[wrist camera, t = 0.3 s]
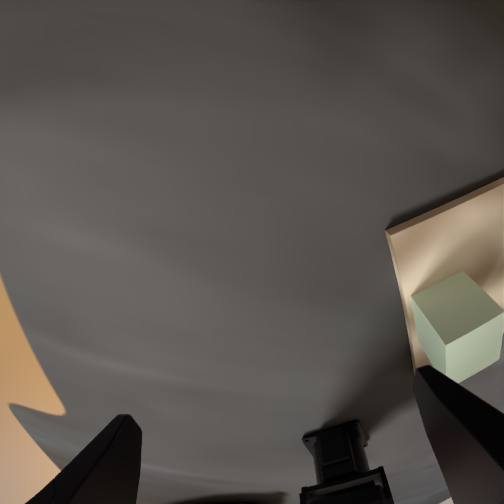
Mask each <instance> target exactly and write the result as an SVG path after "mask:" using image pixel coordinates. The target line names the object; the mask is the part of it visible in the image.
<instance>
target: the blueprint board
mask: <svg viewBox="0 0 504 504" xmlns="http://www.w3.org/2000/svg"><path fill="white" fill-rule="evenodd" d="M385 233H386V236H387V240H388V244H389V248H390V252H391V256H392V260H393V264H394V268H395V272H396V276H397V281H398V285H399V290H400V295H401V299H402V304H403V309H404V315H405V320H406V325H407V331H408V337H409V343H410V349H411V356H412V363H413V370H414V374H415V370H416V368H418V367H420V366H423V365H427V364H428V365H431V366H432V364H431V362H430V360H429V359H428V357H427V355H426V354H425V352H424V350H423V349H422V347H421V345H420V344H419V342H418V340H417V333H416V326H415V320H414V314H413V308H412V302H411V297H410V296H411V295H414V294H416V293H418V292H420V291H422V290H424V289H426V288H428V287H430V286H432V285H434V284H436V283H438V282H441V281H443V280H445V279H446V278H448V277H450V276H452V275H454V274H456V273H458V272H460V271H462V270H463V271H464V272H465V273H466V274H467V275H468V276H469V277H470V278H471V279H473V280H474V281H475V282H476V283H477V284H478V285H479V286H480V287H481V288H482V289H483V290H484V291H485V292H486V293H487V294H488V295H489V296H490V297H491V298H492V299H493V300H494V301H495V302H496V303H497V304H498V305H499V306H500V307H501V308H502V309H503V310H504V177H503V178H501V179H498V180H496V181H494V182H492V183H490V184H488V185H486V186H484V187H481V188H479V189H477V190H475V191H473V192H471V193H468V194H466V195H464V196H462V197H460V198H457V199H455V200H453V201H451V202H449V203H446V204H444V205H442V206H440V207H438V208H435V209H433V210H431V211H429V212H426V213H424V214H422V215H419V216H417V217H415V218H413V219H410V220H408V221H406V222H404V223H401V224H399V225H397V226H394V227H392V228H390V229H387V230H385ZM503 333H504V326H503ZM432 367H433V366H432Z"/></svg>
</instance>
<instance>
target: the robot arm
mask: <svg viewBox="0 0 504 504" xmlns="http://www.w3.org/2000/svg"><path fill="white" fill-rule="evenodd" d="M413 391H414V394H415V398H416V401H417V404H418V407H419V411H420V414H421V417H422V421H423V424H424V428H425V431H426V434H427V436H428V439H429V441H430V444H431V446H432V448H433V451H434V453H435V456H436V458H437V461H438V463H439V466H440V468H441V471H442V473H443V476H444V478H445V481H446V484H447V486H448V489H449V492H450V494H451V497H452V500H453V503H454V504H504V413H502V412H501V411H499V410H498V409H496V408H495V407H493V406H492V405H490V404H489V403H487V402H486V401H484V400H482V399H481V398H479V397H478V396H476V395H475V394H473V393H472V392H470V391H469V390H467V389H466V388H464V387H463V386H461V385H460V384H458V383H457V382H455V381H454V380H452V379H451V378H449V377H447V376H446V375H444V374H443V373H441V372H440V371H438V370H437V369H435V368H434V367H432V366H431V365H428V364H427V365H423V366H420V367H418V368H416V370H415V376H414V382H413ZM302 441H303V443H304V445H305V446H306V447H307V449H308V450H309V451H310V453H311V454H312V455H313V457H314V464H315V471H316V479H317V485H314V486H309V487H307V486H306V487H302V493H300V494H299V495H300V504H394V502H393V498H392V494H391V491H390V488H389V484H388V481H387V478H386V475H385V471H384V468H383V466H380V467H378V468H377V469H374V470H370V469H369V465H368V461H367V457H366V453H365V450H364V448H365V447H367V446H368V443H367V440H366V437H365V435H364V432H363V430H362V427H361V424H360V422H359V420H354V421H351V422H348V423H345V424H342V425H339V426H336V427H333V428H330V429H327V430H324V431H321V432H317V433H314V434H311V435H307V436H304V437H303V438H302ZM141 447H142V431H141V428H140V427H139V425H138V424H137V423H136V422H135V420H134V419H133V418H132V416H131V415H129V414H119V415H117V416H116V417H115V418H114V419H113V420H112V421H111V422H110V423H109V424H108V425H107V426H106V427H105V428H104V429H103V430H102V431H101V432H100V433H99V434H98V435H97V436H96V437H95V438H94V439H93V440H92V441H91V442H90V443H89V444H88V445H87V446H86V447H85V448H84V449H83V450H82V451H81V452H80V453H79V454H78V455H77V456H76V457H75V458H74V459H73V460H72V461H71V462H70V463H69V464H68V465H67V466H66V467H65V468H64V469H63V470H62V471H61V472H60V473H59V474H58V475H57V476H56V477H55V479H53V480H52V481H50V483H48V484H47V485H46V486H45V487H44V488H43V489H42V490H41V491H40V492H39V493H37V494H36V495H35V496H34V497H33V498H31V499H30V500H29V501H28V502H26V503H25V504H136V499H137V492H138V485H139V478H140V469H141Z"/></svg>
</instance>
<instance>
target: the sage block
mask: <svg viewBox="0 0 504 504" xmlns="http://www.w3.org/2000/svg"><path fill="white" fill-rule="evenodd" d="M410 297H411V302H412V308H413V314H414V320H415V326H416V333H417V340H418V342H419V344H420V345H421V347H422V349H423V350H424V352H425V354H426V355H427V357H428V359H429V360H430V362H431V364H432V366H433V367H434V368H435V369H437V370H438V371H440V372H441V373H443V374H444V375H446V376H447V377H449V378H451V379H452V380H454V381H455V382H457V383H459V382H461V381H463V380H465V379H467V378H468V377H470V376H472V375H474V374H475V373H477V372H479V371H481V370H482V369H484V368H486V367H487V366H489V365H491V364H492V363H494V362H495V361H497V360H499V357H500V350H501V343H502V335H503V326H504V310H503V309H502V308H501V307H500V306H499V305H498V304H497V303H496V302H495V301H494V300H493V299H492V298H491V297H490V296H489V295H488V294H487V293H486V292H485V291H484V290H483V289H482V288H481V287H480V286H479V285H478V284H477V283H476V282H475V281H474V280H473V279H471V278H470V277H469V276H468V275H467V274H466V273H465V272H464V271H463V270H462V271H460V272H458V273H456V274H454V275H452V276H450V277H448V278H446V279H445V280H443V281H441V282H438V283H436V284H434V285H432V286H430V287H428V288H426V289H424V290H422V291H420V292H418V293H416V294H414V295H411V296H410Z"/></svg>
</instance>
